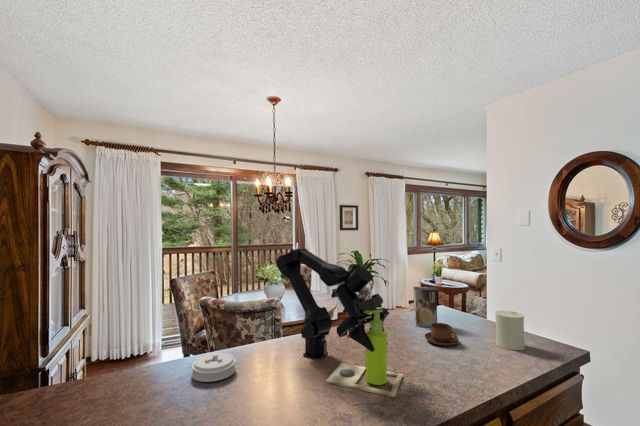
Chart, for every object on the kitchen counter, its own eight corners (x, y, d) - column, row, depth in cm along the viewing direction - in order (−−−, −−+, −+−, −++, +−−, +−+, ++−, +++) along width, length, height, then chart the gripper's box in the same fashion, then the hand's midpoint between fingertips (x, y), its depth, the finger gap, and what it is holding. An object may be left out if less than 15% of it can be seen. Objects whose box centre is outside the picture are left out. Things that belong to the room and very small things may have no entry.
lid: (181, 380, 93) (181, 362, 93) (211, 362, 104) (211, 347, 105) (217, 388, 88) (217, 370, 88) (244, 368, 100) (244, 352, 100)
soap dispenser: (358, 378, 92) (359, 308, 92) (377, 373, 95) (378, 305, 96) (371, 388, 87) (372, 313, 87) (391, 381, 90) (391, 310, 91)
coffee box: (434, 322, 144) (434, 286, 145) (437, 327, 138) (437, 289, 139) (413, 321, 146) (413, 286, 146) (415, 326, 140) (415, 289, 140)
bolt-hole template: (326, 382, 91) (326, 379, 91) (341, 364, 102) (341, 361, 102) (394, 397, 83) (394, 393, 83) (402, 376, 94) (402, 373, 94)
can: (529, 346, 116) (528, 313, 117) (517, 352, 111) (516, 317, 111) (503, 339, 124) (502, 307, 124) (490, 344, 119) (490, 311, 119)
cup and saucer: (461, 340, 123) (460, 324, 123) (455, 351, 113) (455, 333, 113) (429, 334, 130) (428, 319, 130) (421, 344, 119) (420, 327, 120)
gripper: (344, 290, 88) (376, 341, 80) (384, 281, 101) (415, 325, 93) (324, 312, 94) (352, 363, 86) (364, 302, 107) (392, 345, 98)
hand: (380, 348), depth 90 cm, fingers closed on soap dispenser, 6 cm apart
